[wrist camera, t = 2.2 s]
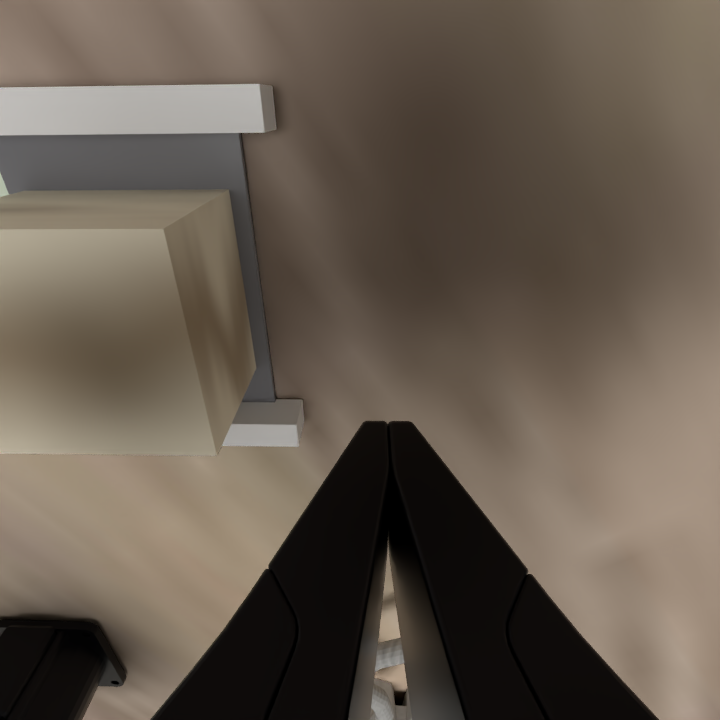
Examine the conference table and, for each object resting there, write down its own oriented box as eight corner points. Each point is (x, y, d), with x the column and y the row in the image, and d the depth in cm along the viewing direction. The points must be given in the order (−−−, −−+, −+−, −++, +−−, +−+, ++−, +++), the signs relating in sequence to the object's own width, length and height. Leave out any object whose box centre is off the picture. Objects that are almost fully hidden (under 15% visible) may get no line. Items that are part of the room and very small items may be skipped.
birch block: (256, 367, 16) (217, 456, 12) (91, 366, 16) (-2, 453, 12) (228, 189, 13) (163, 229, 9) (24, 190, 13) (-129, 230, 9)
